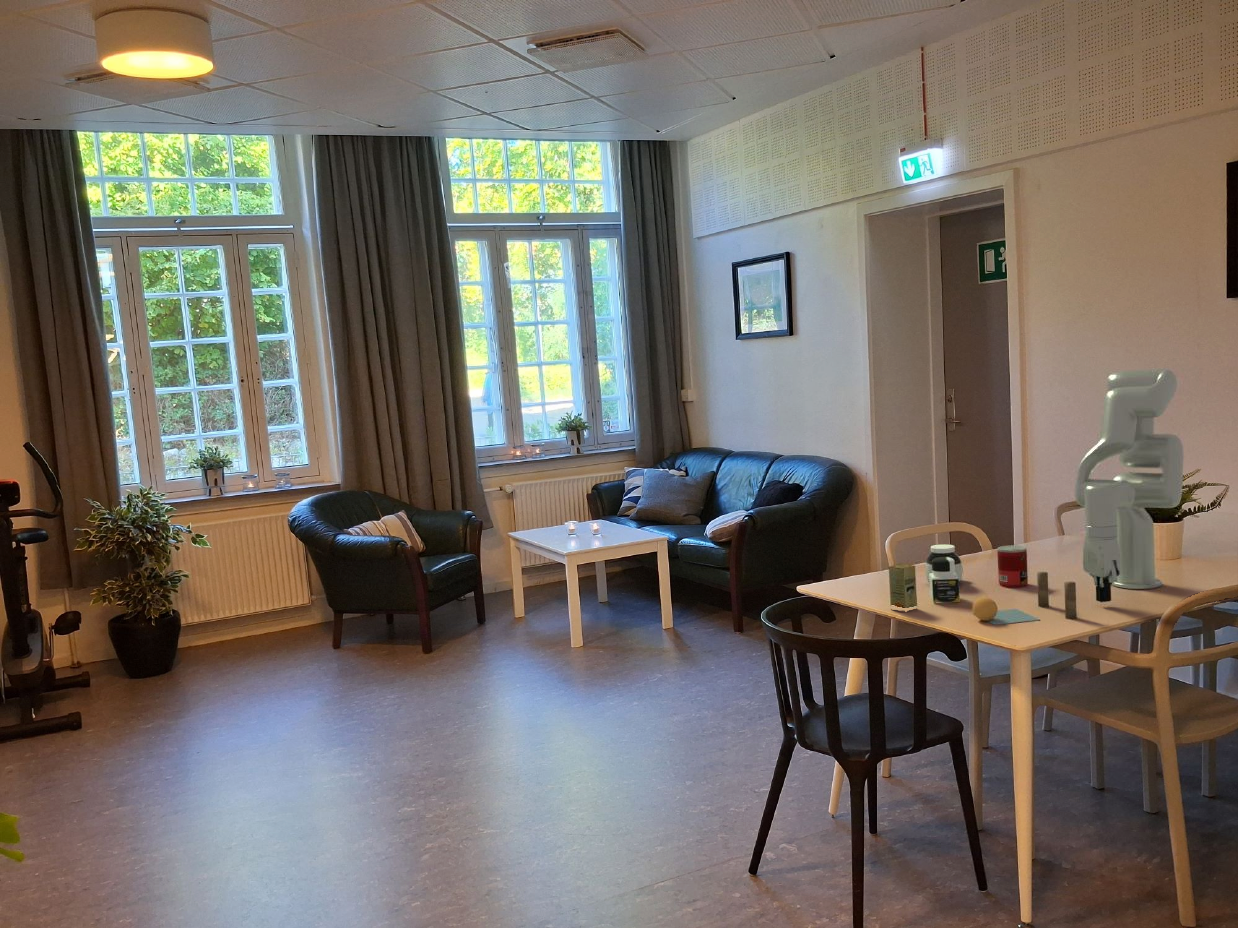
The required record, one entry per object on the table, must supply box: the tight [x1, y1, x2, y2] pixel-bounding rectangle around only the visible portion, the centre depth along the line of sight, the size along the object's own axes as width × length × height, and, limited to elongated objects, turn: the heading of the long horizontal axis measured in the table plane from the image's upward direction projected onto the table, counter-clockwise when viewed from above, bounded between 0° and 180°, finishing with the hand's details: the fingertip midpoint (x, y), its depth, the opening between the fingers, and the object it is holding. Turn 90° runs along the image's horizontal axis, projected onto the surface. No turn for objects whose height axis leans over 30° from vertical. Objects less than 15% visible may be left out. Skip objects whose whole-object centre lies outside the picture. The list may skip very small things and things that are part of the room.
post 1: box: [1036, 571, 1050, 608], centre depth 270 cm, size 3×3×9 cm
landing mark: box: [972, 608, 1041, 626], centre depth 262 cm, size 12×12×1 cm
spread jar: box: [925, 544, 964, 584], centre depth 304 cm, size 12×11×12 cm
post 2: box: [1063, 581, 1078, 620], centre depth 257 cm, size 3×3×9 cm
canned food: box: [997, 544, 1029, 589], centre depth 296 cm, size 8×8×11 cm
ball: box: [972, 596, 999, 622], centre depth 261 cm, size 6×6×6 cm
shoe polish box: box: [888, 563, 918, 608], centre depth 277 cm, size 5×5×12 cm
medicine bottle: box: [929, 557, 961, 603], centre depth 284 cm, size 7×7×12 cm
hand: (1103, 600), depth 265 cm, fingers closed
